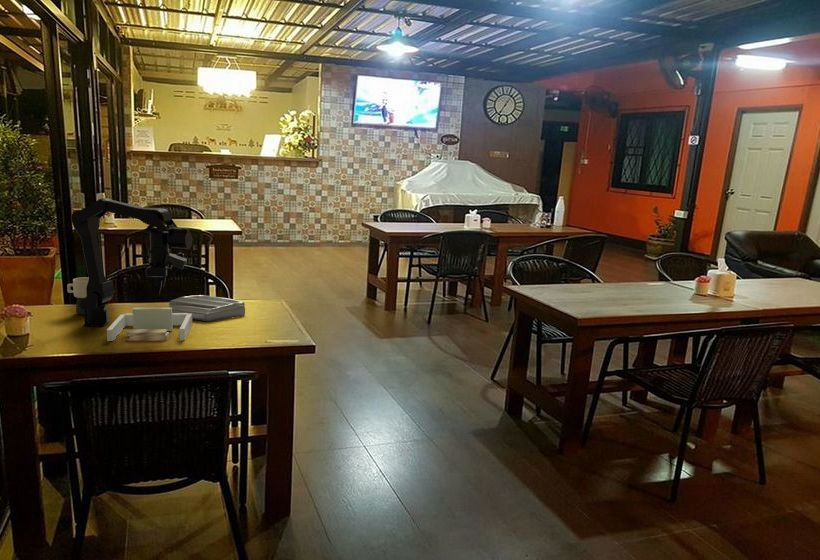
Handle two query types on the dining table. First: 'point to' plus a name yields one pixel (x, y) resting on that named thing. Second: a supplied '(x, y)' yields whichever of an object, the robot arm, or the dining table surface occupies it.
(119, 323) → the rack
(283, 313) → the dining table surface
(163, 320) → the pale green rectangular slab
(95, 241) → the robot arm
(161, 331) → the offcut stack
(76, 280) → the character mug
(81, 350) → the dining table surface
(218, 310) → the emblem
